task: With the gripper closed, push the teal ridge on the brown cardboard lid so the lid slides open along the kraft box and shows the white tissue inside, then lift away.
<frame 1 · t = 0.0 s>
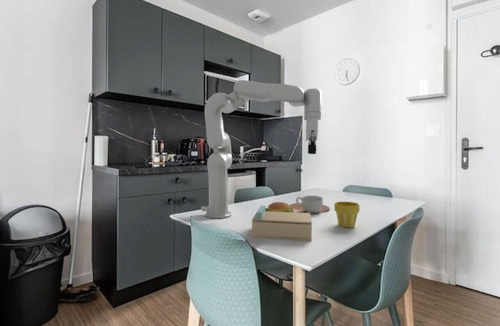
hand: (311, 153, 125), 31 cm above the table, tool pointing down, fingers open, 9 cm apart
box: (282, 233, 108), on the table
plant pot: (346, 226, 119), on the table
food: (278, 219, 130), on the table
lid: (282, 213, 107), point 8 cm above the table, slide at 0.0 cm
teacup: (309, 212, 144), on the table
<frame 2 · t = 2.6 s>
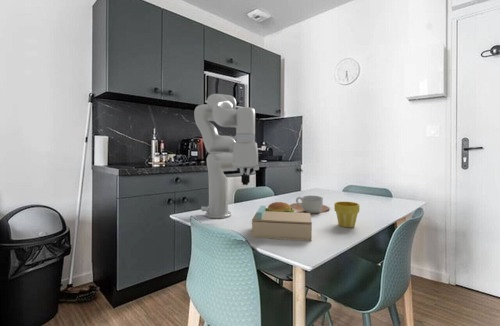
hand: (245, 184, 109), 19 cm above the table, tool pointing down, fingers closed
nothing on the table moved.
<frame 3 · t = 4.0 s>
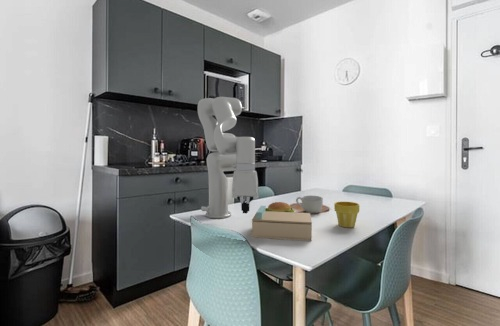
hand: (245, 212, 110), 8 cm above the table, tool pointing down, fingers closed
nothing on the table moved.
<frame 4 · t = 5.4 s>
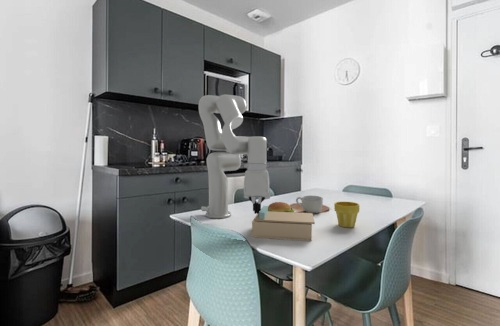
hand: (256, 212, 109), 8 cm above the table, tool pointing down, fingers closed
lid: (285, 213, 107), point 8 cm above the table, slide at 1.0 cm, touching gripper
everything else where it was.
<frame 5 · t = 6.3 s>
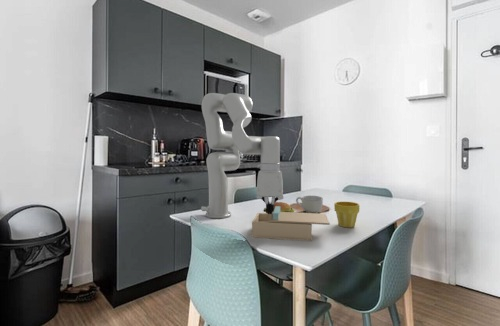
hand: (269, 213, 108), 8 cm above the table, tool pointing down, fingers closed
lid: (298, 214, 106), point 8 cm above the table, slide at 6.3 cm, touching gripper
everything else where it was.
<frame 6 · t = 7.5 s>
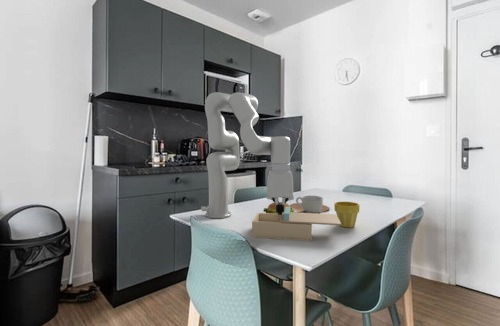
hand: (280, 214, 107), 8 cm above the table, tool pointing down, fingers closed
lid: (309, 214, 105), point 8 cm above the table, slide at 10.3 cm, touching gripper
everything else where it was.
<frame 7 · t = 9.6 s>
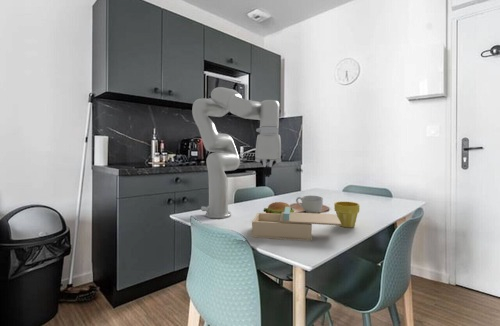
hand: (267, 176, 111), 22 cm above the table, tool pointing down, fingers closed
lid: (309, 214, 105), point 8 cm above the table, slide at 10.3 cm
everything else where it was.
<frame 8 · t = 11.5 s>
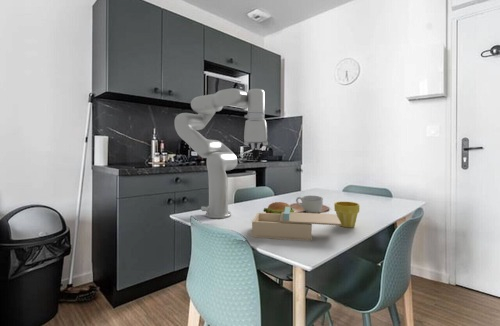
hand: (255, 158, 122), 29 cm above the table, tool pointing down, fingers closed
nothing on the table moved.
at the end: lid slide at 10.3 cm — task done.
